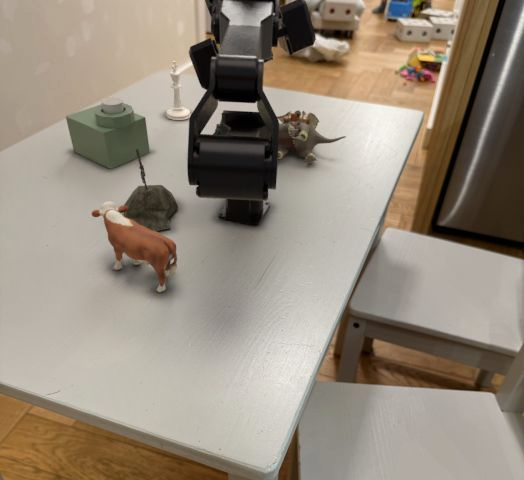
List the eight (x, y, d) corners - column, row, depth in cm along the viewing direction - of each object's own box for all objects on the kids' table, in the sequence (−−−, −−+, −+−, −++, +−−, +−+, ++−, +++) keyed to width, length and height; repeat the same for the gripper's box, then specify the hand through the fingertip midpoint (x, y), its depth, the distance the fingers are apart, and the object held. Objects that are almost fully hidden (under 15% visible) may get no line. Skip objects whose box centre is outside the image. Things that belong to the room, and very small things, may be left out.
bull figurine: (119, 245, 69) (109, 191, 64) (188, 285, 64) (183, 230, 58) (94, 258, 67) (80, 203, 61) (162, 301, 61) (154, 245, 56)
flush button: (128, 111, 83) (126, 100, 82) (112, 117, 81) (110, 106, 80) (115, 106, 85) (113, 95, 83) (99, 112, 83) (96, 100, 81)
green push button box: (152, 153, 90) (146, 107, 84) (113, 170, 85) (104, 122, 79) (113, 136, 94) (105, 91, 88) (73, 151, 89) (62, 104, 83)
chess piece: (162, 118, 101) (156, 63, 94) (172, 109, 104) (167, 56, 97) (185, 121, 100) (181, 67, 93) (194, 113, 103) (191, 59, 96)
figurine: (229, 130, 85) (242, 97, 97) (232, 165, 89) (243, 128, 101) (347, 132, 83) (345, 97, 95) (344, 167, 87) (342, 130, 99)
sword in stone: (130, 197, 79) (117, 119, 70) (180, 199, 79) (173, 122, 70) (116, 232, 72) (100, 150, 63) (171, 235, 72) (162, 153, 63)
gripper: (295, -58, 64) (291, -27, 78) (164, 2, 67) (183, 21, 81) (321, 36, 69) (312, 50, 83) (197, 89, 72) (209, 93, 86)
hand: (253, 52), depth 83 cm, fingers open, 9 cm apart
